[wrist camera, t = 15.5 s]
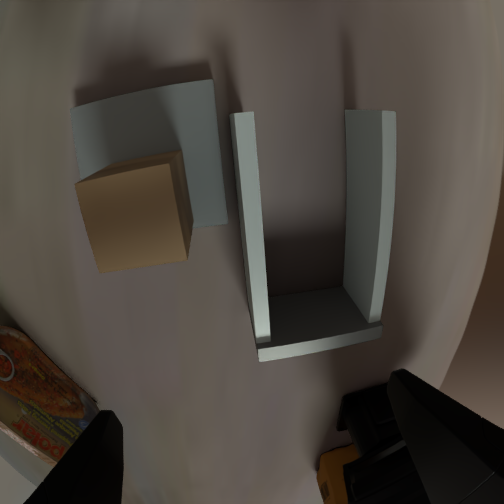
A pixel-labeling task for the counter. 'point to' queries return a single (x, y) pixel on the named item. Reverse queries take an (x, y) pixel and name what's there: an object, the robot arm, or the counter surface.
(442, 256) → the counter surface
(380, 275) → the grey open rectangular frame
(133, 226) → the block
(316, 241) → the counter surface
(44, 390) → the tin
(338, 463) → the coffee package
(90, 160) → the tile
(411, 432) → the robot arm
